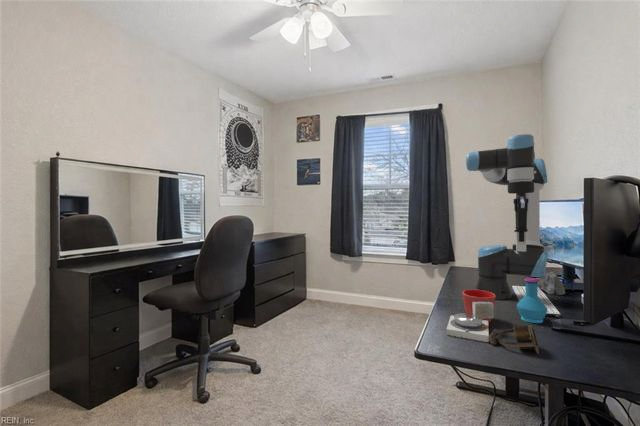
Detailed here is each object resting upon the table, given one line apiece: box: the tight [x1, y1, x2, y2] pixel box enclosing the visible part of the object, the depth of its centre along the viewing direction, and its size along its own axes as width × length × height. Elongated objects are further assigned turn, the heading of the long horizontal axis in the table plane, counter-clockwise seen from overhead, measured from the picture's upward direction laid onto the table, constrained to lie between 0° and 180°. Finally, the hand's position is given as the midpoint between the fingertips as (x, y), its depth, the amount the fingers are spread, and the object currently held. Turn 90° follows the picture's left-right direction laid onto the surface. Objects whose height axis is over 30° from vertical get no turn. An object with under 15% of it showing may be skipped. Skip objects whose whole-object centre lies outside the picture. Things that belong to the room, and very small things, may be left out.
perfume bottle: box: [516, 277, 548, 324], centre depth 110 cm, size 9×9×15 cm
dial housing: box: [446, 315, 490, 343], centre depth 102 cm, size 14×12×2 cm
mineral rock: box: [537, 271, 566, 296], centre depth 145 cm, size 13×11×10 cm
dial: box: [453, 302, 494, 328], centre depth 101 cm, size 12×8×7 cm
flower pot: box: [461, 289, 496, 323], centre depth 111 cm, size 11×11×10 cm
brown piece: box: [489, 324, 540, 355], centre depth 90 cm, size 7×13×10 cm
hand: (521, 251), depth 102 cm, fingers closed
